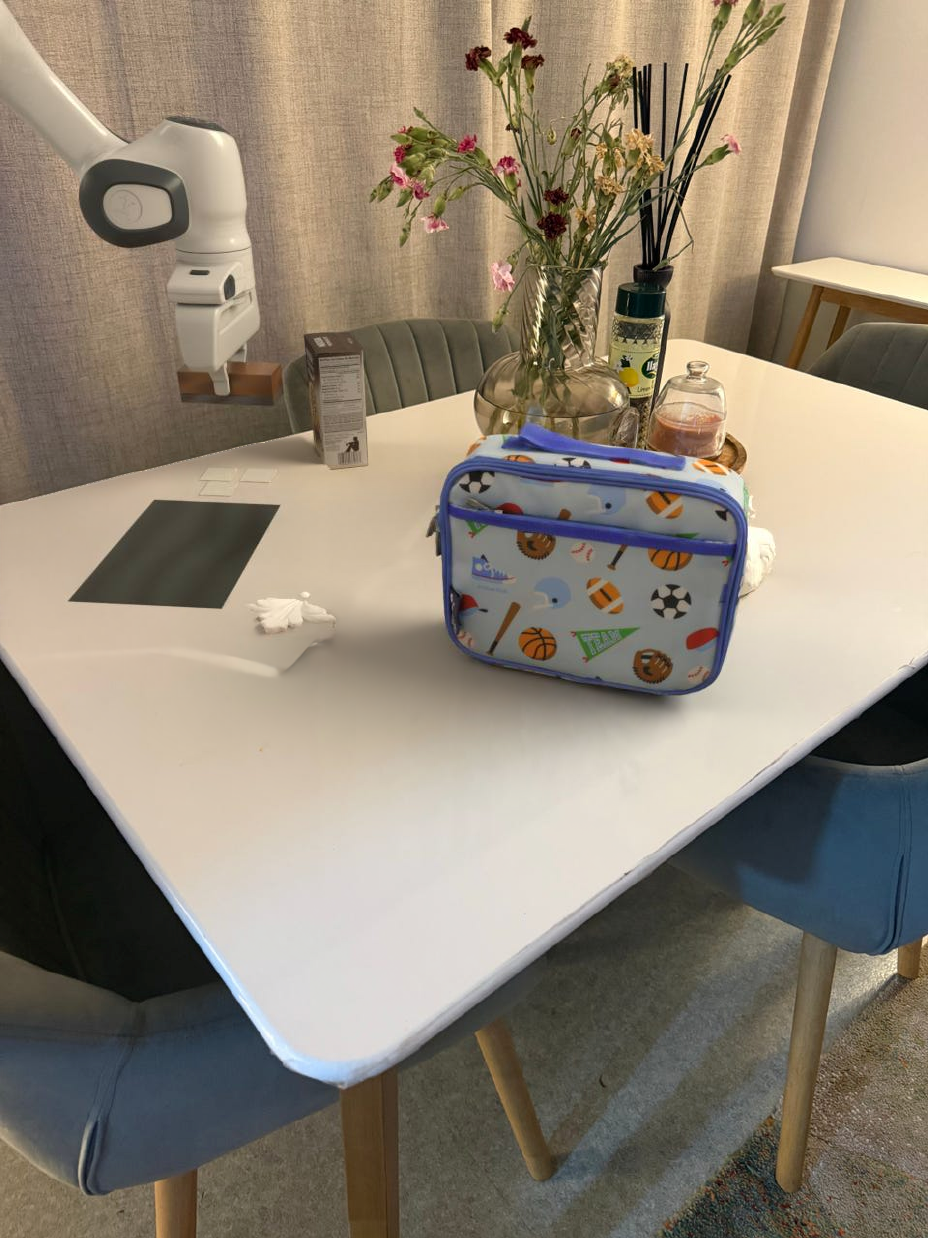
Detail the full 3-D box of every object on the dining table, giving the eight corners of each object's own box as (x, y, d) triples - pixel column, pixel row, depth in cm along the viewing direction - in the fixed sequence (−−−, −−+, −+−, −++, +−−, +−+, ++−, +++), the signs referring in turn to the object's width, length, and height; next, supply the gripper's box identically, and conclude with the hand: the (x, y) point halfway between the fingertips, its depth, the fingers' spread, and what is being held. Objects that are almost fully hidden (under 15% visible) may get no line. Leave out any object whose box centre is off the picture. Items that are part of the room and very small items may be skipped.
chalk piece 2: (200, 501, 112) (198, 494, 112) (209, 488, 116) (208, 481, 115) (231, 502, 112) (229, 495, 111) (240, 489, 115) (239, 482, 115)
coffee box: (312, 446, 128) (302, 332, 119) (356, 441, 129) (349, 329, 120) (323, 471, 120) (313, 352, 112) (370, 465, 122) (363, 348, 113)
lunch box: (417, 664, 83) (412, 442, 71) (450, 608, 92) (450, 401, 80) (717, 720, 77) (767, 486, 65) (723, 653, 85) (768, 436, 73)
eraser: (181, 402, 113) (176, 371, 111) (194, 389, 117) (189, 359, 115) (274, 406, 112) (271, 375, 110) (283, 393, 116) (280, 362, 114)
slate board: (56, 613, 90) (53, 605, 90) (150, 502, 112) (149, 495, 111) (229, 621, 89) (228, 614, 89) (291, 508, 111) (290, 501, 110)
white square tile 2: (239, 487, 116) (238, 480, 115) (249, 475, 119) (248, 468, 119) (269, 489, 115) (268, 482, 115) (278, 476, 119) (277, 469, 118)
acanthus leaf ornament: (337, 628, 88) (335, 612, 87) (271, 648, 85) (269, 632, 84) (307, 593, 94) (306, 578, 93) (244, 611, 91) (242, 596, 90)
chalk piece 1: (199, 486, 116) (198, 479, 115) (209, 474, 119) (208, 467, 119) (230, 487, 116) (228, 480, 115) (238, 475, 119) (237, 468, 119)
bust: (755, 585, 100) (722, 491, 100) (809, 571, 94) (773, 471, 94) (681, 617, 95) (645, 517, 94) (732, 605, 88) (693, 498, 88)
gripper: (217, 254, 115) (231, 360, 123) (160, 290, 98) (180, 411, 105) (265, 255, 115) (276, 362, 122) (216, 292, 98) (232, 413, 105)
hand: (231, 385), depth 114 cm, fingers closed on eraser, 5 cm apart
